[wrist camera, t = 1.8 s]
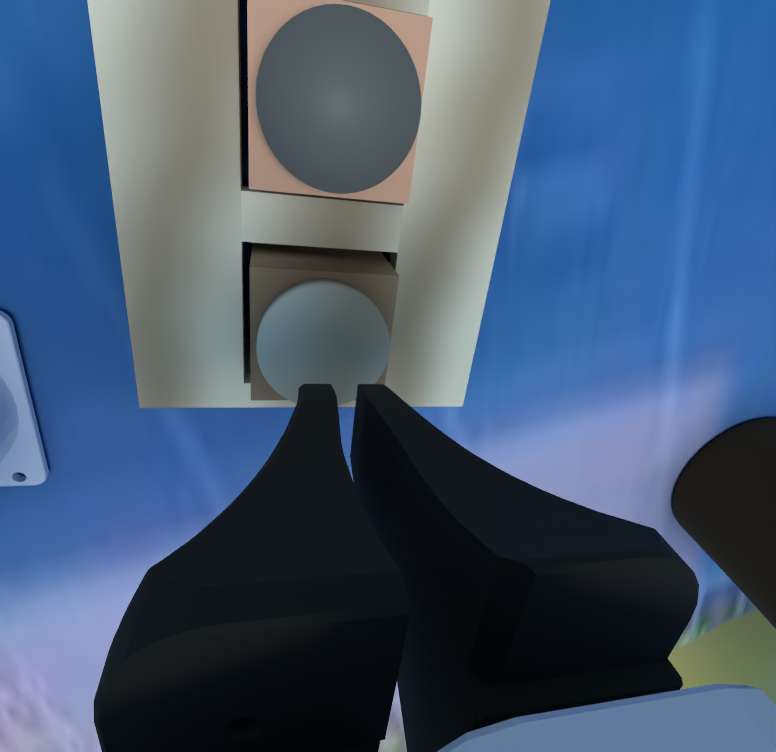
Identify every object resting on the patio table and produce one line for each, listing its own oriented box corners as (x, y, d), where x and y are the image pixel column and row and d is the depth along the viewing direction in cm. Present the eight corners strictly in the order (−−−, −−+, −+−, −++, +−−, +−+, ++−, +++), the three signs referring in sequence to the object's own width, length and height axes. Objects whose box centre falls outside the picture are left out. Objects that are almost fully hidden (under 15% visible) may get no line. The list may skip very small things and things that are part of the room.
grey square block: (161, 358, 21) (139, 407, 17) (85, -410, 12) (6, -628, 8) (434, 362, 23) (462, 406, 20) (544, -252, 14) (629, -365, 11)
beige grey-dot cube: (252, 175, 16) (247, 193, 12) (251, 7, 14) (245, -27, 10) (386, 188, 17) (415, 209, 13) (403, 34, 15) (442, 12, 11)
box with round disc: (253, 357, 19) (249, 413, 15) (253, 240, 17) (248, 275, 13) (367, 359, 20) (387, 412, 16) (379, 249, 18) (405, 283, 14)
